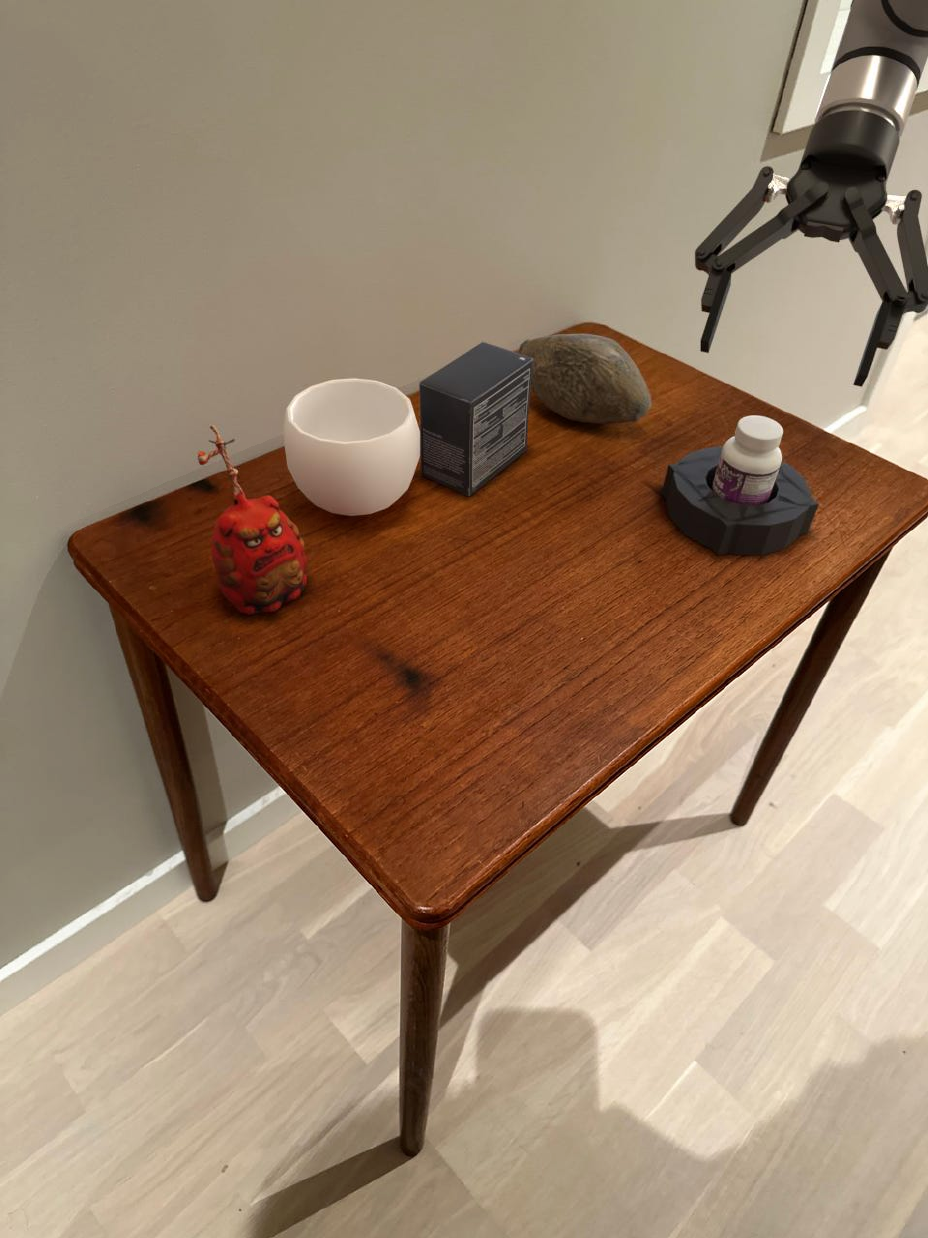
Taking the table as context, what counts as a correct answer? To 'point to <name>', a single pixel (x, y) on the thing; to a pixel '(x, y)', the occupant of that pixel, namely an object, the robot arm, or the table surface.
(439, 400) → the small box
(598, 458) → the table surface
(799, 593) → the table surface
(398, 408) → the cup
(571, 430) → the table surface
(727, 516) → the dark grey faceted ring
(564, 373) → the stone
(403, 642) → the table surface
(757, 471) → the pill bottle
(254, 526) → the red clay folk toy
